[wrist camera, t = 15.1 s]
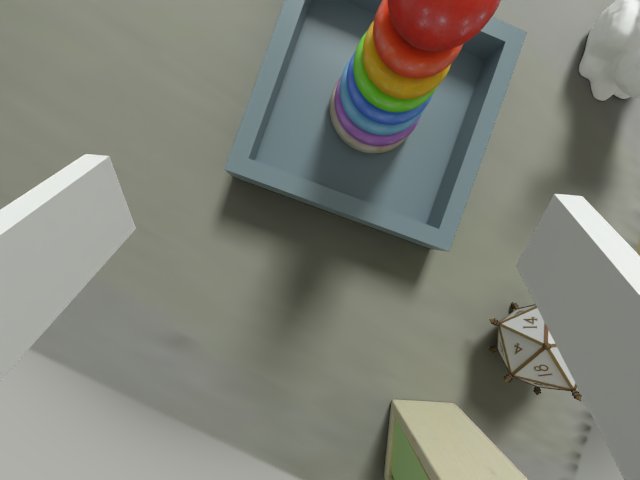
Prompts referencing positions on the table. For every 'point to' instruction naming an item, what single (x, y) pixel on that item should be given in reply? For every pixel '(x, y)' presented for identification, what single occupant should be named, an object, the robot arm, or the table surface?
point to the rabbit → (614, 52)
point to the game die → (532, 351)
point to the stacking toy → (401, 68)
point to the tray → (359, 167)
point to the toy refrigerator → (441, 445)
